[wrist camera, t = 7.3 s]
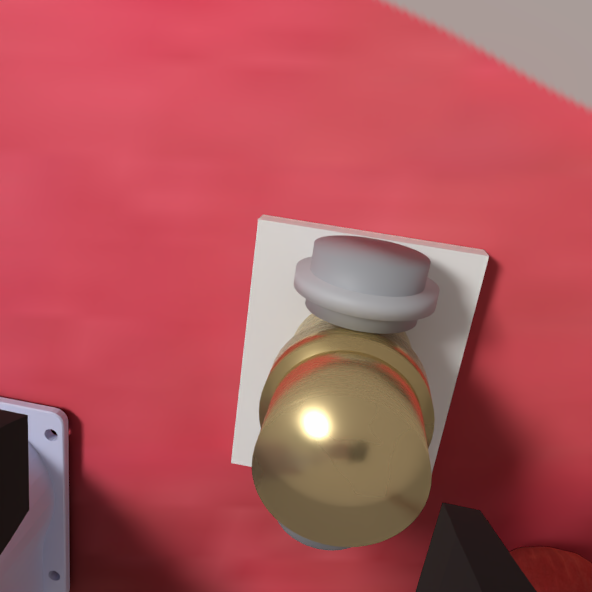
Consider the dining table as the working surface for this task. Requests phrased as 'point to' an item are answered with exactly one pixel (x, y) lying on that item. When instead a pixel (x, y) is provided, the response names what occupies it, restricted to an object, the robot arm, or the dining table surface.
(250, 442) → the fitting
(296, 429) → the cylinder
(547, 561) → the onion
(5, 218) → the dining table surface
